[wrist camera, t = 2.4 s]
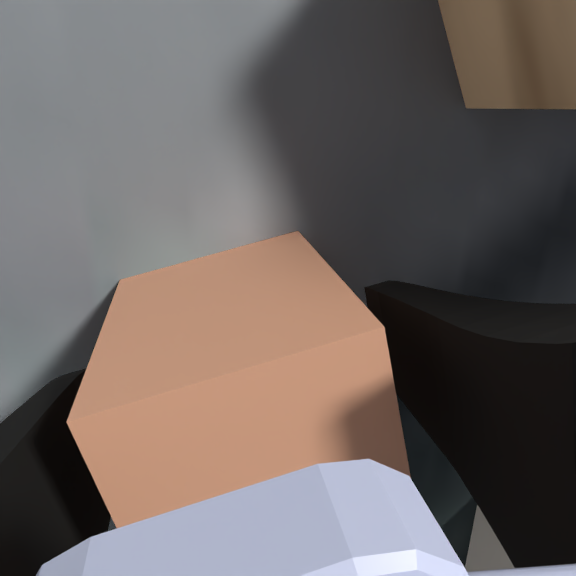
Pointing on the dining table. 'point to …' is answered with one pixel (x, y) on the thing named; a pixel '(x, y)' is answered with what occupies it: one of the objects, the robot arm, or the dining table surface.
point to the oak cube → (513, 52)
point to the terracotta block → (232, 379)
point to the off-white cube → (485, 547)
